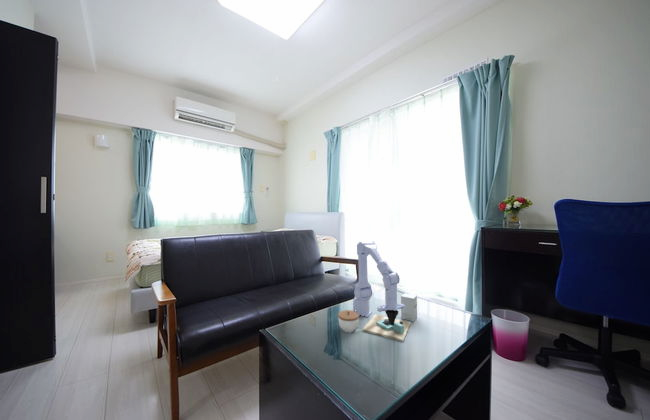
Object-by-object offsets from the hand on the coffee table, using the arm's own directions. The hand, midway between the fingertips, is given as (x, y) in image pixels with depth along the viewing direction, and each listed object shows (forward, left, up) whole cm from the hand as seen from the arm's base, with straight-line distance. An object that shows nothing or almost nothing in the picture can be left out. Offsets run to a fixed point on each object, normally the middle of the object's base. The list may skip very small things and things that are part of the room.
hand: (391, 324), depth 112 cm
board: (-3, +5, -4) cm, 8 cm away
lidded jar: (-20, -7, -5) cm, 22 cm away
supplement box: (+5, +23, -5) cm, 24 cm away
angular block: (-1, +4, -3) cm, 5 cm away
